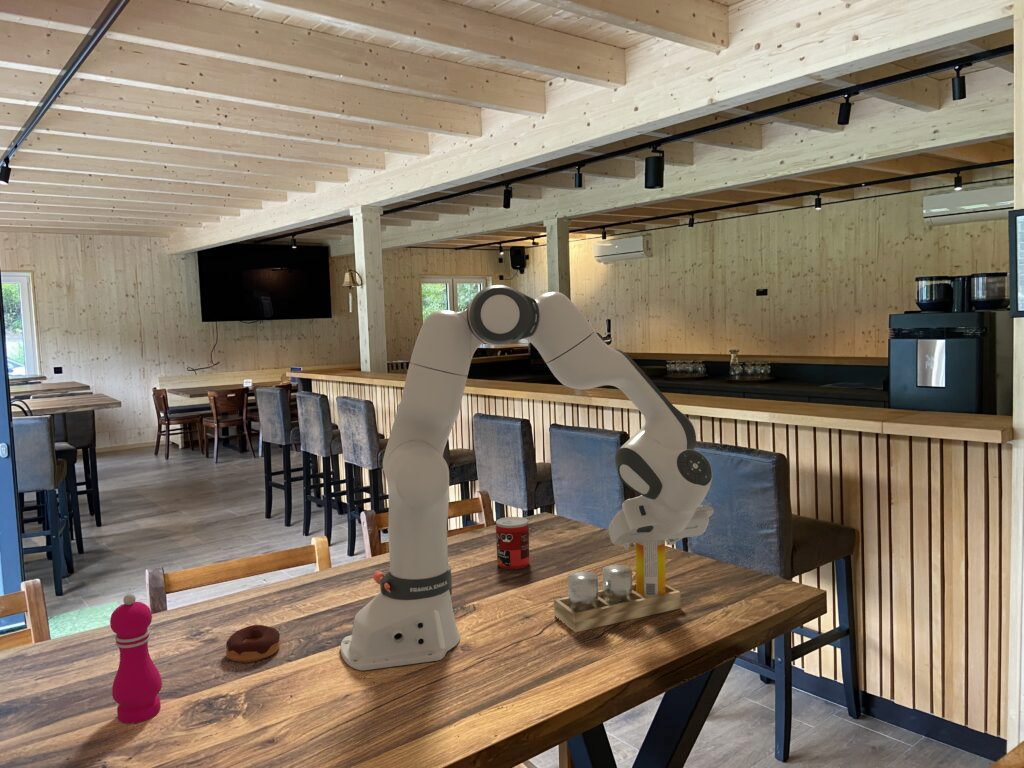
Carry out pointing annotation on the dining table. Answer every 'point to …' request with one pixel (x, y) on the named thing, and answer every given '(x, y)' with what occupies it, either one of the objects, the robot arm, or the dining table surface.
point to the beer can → (650, 568)
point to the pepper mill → (134, 663)
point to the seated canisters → (586, 587)
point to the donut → (252, 643)
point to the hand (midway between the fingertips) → (648, 544)
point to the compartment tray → (616, 609)
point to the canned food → (512, 542)
